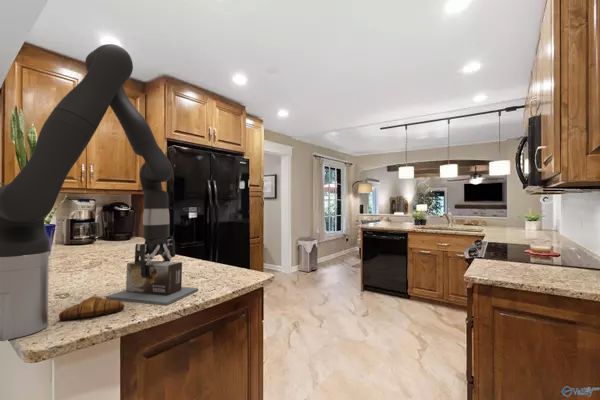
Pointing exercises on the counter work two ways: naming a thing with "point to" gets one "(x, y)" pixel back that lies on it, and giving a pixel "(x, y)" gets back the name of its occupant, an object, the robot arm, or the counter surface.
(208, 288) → the counter surface
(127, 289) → the coffee box
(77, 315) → the croissant
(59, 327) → the counter surface
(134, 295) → the mat
